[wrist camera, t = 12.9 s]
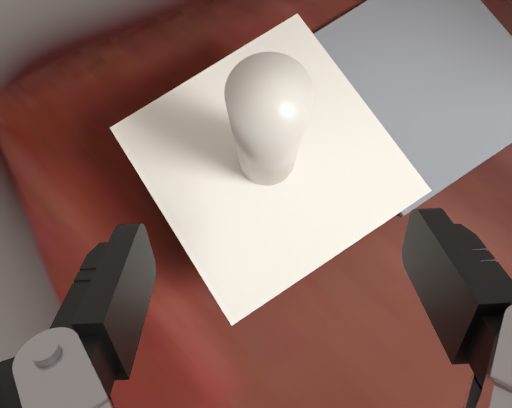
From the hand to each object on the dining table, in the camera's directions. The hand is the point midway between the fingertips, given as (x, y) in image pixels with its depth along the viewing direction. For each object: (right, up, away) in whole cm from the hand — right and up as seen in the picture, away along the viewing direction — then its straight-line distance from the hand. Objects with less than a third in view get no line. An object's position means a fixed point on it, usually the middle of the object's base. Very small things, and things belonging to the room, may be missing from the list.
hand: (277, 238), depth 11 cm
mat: (+14, +12, +21) cm, 27 cm away
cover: (0, +4, +13) cm, 14 cm away
